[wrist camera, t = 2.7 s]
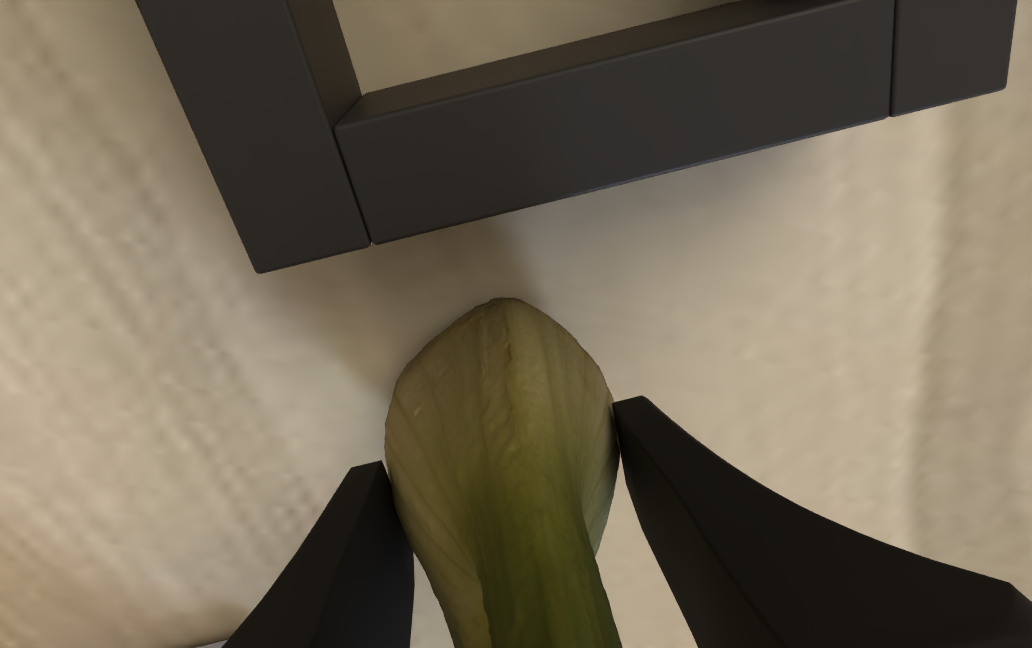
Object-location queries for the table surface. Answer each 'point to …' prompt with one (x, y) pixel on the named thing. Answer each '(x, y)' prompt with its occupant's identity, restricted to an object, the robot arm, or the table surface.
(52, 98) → the table surface
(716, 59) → the holder
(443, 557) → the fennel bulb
